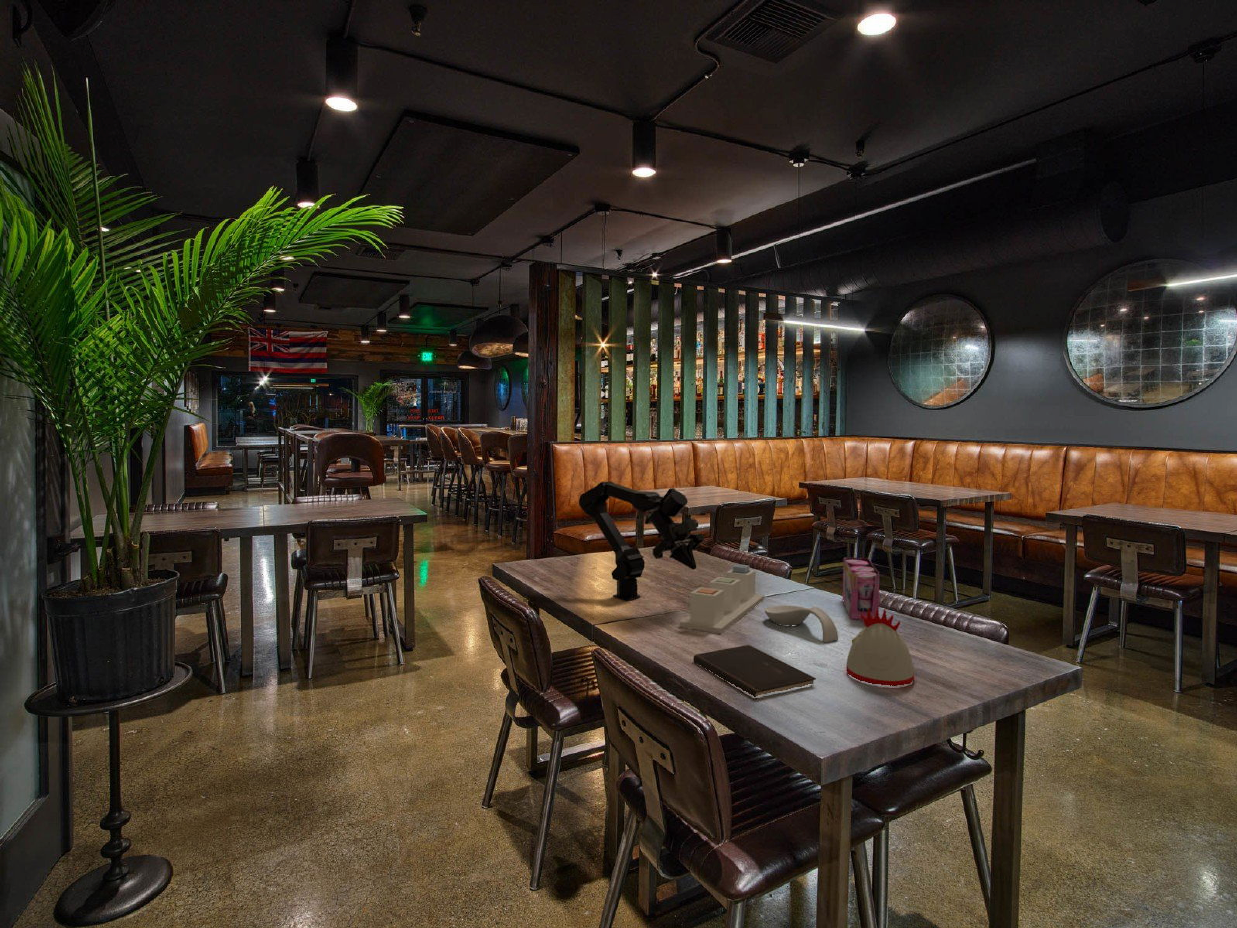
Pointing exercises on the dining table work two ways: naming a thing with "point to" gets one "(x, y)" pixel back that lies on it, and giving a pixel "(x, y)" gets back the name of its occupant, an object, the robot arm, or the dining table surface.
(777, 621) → the spoon rest
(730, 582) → the sage green button
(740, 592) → the button console
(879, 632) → the tan and red dome
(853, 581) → the gum box
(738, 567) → the slate blue button
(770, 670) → the hardcover book
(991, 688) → the dining table surface
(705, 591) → the terracotta button
